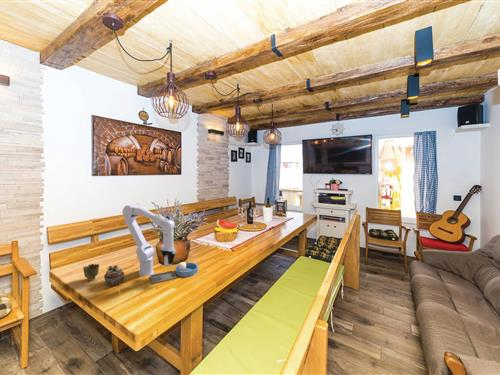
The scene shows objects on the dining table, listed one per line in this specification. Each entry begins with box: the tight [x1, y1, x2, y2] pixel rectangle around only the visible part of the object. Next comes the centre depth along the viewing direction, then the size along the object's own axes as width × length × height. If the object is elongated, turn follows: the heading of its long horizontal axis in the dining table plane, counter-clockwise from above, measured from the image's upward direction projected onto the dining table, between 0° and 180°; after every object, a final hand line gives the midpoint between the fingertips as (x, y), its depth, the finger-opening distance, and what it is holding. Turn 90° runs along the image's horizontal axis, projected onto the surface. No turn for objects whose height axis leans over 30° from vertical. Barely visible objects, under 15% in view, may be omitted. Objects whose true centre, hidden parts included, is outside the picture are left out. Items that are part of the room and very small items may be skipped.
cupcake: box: [103, 265, 125, 288], centre depth 124 cm, size 10×10×10 cm
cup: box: [82, 263, 100, 281], centre depth 127 cm, size 8×7×8 cm
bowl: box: [174, 261, 199, 278], centre depth 140 cm, size 14×14×4 cm
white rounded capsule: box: [178, 261, 187, 271], centre depth 138 cm, size 4×4×6 cm
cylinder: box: [163, 255, 173, 267], centre depth 134 cm, size 4×4×6 cm
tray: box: [149, 270, 178, 285], centre depth 131 cm, size 10×13×1 cm
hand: (168, 262), depth 134 cm, fingers closed on cylinder, 4 cm apart
